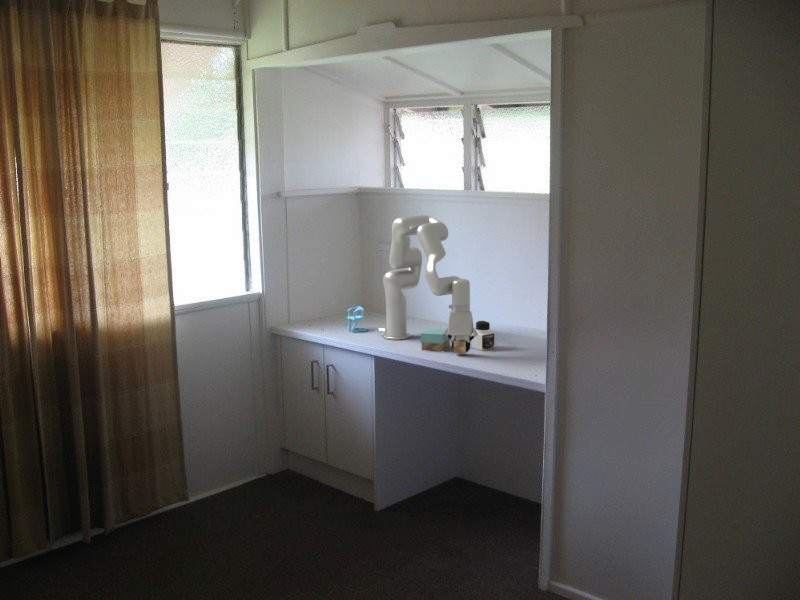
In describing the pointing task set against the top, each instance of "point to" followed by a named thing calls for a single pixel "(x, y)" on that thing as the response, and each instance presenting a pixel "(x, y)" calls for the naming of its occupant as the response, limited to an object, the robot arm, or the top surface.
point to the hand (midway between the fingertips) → (461, 350)
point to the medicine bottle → (483, 336)
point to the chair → (355, 319)
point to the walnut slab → (436, 346)
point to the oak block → (460, 346)
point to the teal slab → (434, 336)
